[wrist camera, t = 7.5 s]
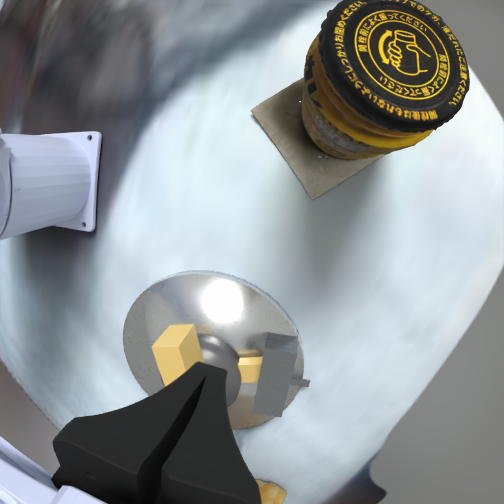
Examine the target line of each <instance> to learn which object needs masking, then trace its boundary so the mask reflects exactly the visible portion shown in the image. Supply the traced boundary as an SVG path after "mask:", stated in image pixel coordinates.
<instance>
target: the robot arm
mask: <svg viewBox="0 0 504 504" xmlns="http://www.w3.org/2000/svg"><path fill="white" fill-rule="evenodd" d="M91 135H92V140H91V141H90V137H91ZM101 139H102V135H101V133H100V132H75V133H59V134H46V135H19V134H1V129H0V240H3V239H6V238H9V237H13V236H16V235H20V234H23V233H26V232H30V231H34V230H37V229H41V228H44V227H48V226H52V225H53V226H59V227H65V228H70V229H76V230H82V231H88V232H90V231H93V230H94V229H95V219H96V195H97V180H98V167H99V157H100V148H101ZM84 222H85V223H86V227H85V226H84ZM227 374H228V372H227V370H226V369H223V368H219V367H216V366H213V365H209V364H206V363H203V362H199V361H198V362H195V363H194V364H193V365H192V366H191V367H190V368H189V369H188V370H187V371H186V372H184V373H183V374H182V375H181V376H180V377H178V378H177V379H176V380H174V381H173V382H171V383H170V384H169V385H167V386H166V387H164V388H162V389H161V390H159V391H158V392H156V393H154V394H153V395H151V396H149V397H147V398H145V399H143V400H141V401H139V402H136V403H134V404H132V405H129V406H127V407H124V408H121V409H118V410H114V411H111V412H107V413H103V414H98V415H92V416H85V417H76V418H74V419H73V420H71V421H70V422H69V423H68V424H67V425H66V426H65V427H64V428H63V429H62V430H61V431H60V432H59V434H58V435H57V436H56V437H55V438H54V440H53V447H54V451H55V453H56V456H57V458H58V461H59V463H60V467H59V469H58V470H57V471H56V473H55V474H54V475H52V474H51V473H49V472H48V471H46V470H45V469H43V468H42V467H40V466H39V465H37V464H36V463H35V462H33V461H32V460H30V459H29V458H28V457H26V456H25V455H24V454H22V453H21V452H20V451H18V450H17V449H15V448H14V447H13V446H12V445H10V444H9V443H8V442H7V441H6V440H4V439H3V438H2V437H1V436H0V504H262V501H261V494H260V490H259V485H258V483H257V482H256V480H255V479H254V477H253V476H252V474H251V472H250V471H249V469H248V467H247V465H246V463H245V462H244V460H243V457H242V455H241V453H240V451H239V448H238V446H237V444H236V441H235V438H234V435H233V432H232V428H231V424H230V420H229V415H228V409H227V401H226V378H227Z"/></svg>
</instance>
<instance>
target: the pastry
mask: <svg viewBox="0 0 504 504" xmlns="http://www.w3.org/2000/svg"><path fill="white" fill-rule="evenodd" d="M255 480H256V482H257V483H258V485H259V490H260V494H261V501H262V504H283V502H284V500H285V496H286V494H287V492H286V490H284V489H283V488H281V487H280V486H279V485H277V484H275V483H272V482H270V483H266V482H263V481H261V480H258V479H255Z"/></svg>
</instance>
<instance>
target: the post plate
mask: <svg viewBox="0 0 504 504" xmlns="http://www.w3.org/2000/svg"><path fill="white" fill-rule="evenodd" d="M185 324H194V325H195V329H196V333H197V334H201V335H208V336H212V337H215V338H217V339H220V340H222V341H223V342H225V343H227V344H228V345H229V346H230V347H231V348H233V349H234V350H235V352H236V353H237V354H238V356H239V357H240V358H250V357H263V358H262V363H261V369H260V374H259V379H258V382H247V383H241V387H240V390H239V394H238V397H237V399H236V400H235V402H234V403H233V404H232V405H231V406H229V407H228V408H227V409H228V415H229V420H230V424H231V428H232V429H243V428H248V427H253V426H256V425H259V424H262V423H264V422H266V421H268V420H270V419H272V418H274V417H275V416H276V417H281V416H282V412H283V410H284V409H286V408H287V407H288V405H289V404H290V403H291V402H292V401H293V399H294V398H295V396H296V394H297V392H298V390H299V388H300V386H304V387H308V386H309V383H310V380H306V379H302V377H303V372H304V354H303V347H302V342H301V339H300V336H299V333H298V330H297V329H296V327H295V325H294V323H293V321H292V320H291V318H290V317H289V315H288V314H287V312H286V311H285V310H284V309H283V308H282V307H281V306H280V305H279V303H278V302H276V301H275V300H274V299H273V298H272V297H271V296H270V295H268V294H267V293H266V292H264V291H263V290H261V289H260V288H258V287H257V286H255V285H253V284H251V283H249V282H247V281H245V280H243V279H240V278H238V277H235V276H232V275H229V274H225V273H220V272H214V271H205V270H200V271H186V272H180V273H177V274H173V275H170V276H167V277H165V278H163V279H161V280H159V281H158V282H156V283H155V284H153V285H152V286H150V287H149V288H148V289H146V290H145V291H144V292H143V293H142V294H141V295H140V296H139V297H138V298H137V299H136V301H135V302H134V303H133V305H132V306H131V308H130V310H129V312H128V314H127V317H126V320H125V324H124V330H123V345H124V351H125V355H126V359H127V362H128V364H129V367H130V369H131V371H132V373H133V375H134V377H135V379H136V380H137V382H138V383H139V384H140V386H141V387H142V388H143V390H144V391H145V392H146V393H147V394H148V395H149V396H151V395H153V394H154V393H156V392H158V391H159V390H161V389H162V388H164V385H163V383H162V380H161V376H160V371H159V368H158V365H157V362H156V359H155V356H154V353H153V350H152V346H153V345H154V343H155V342H156V341H157V340H158V339H159V337H160V336H161V335H162V334H163V333H164V331H165V330H166V329H167V328H168V327H169V325H185Z"/></svg>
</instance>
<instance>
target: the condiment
mask: <svg viewBox="0 0 504 504" xmlns="http://www.w3.org/2000/svg"><path fill="white" fill-rule="evenodd" d="M321 28H322V29H321V31H320V32H319V34H318V35H317V37H316V38H315V39H314V41H313V42H312V44H311V46H310V48H309V50H308V53H307V55H306V63H305V69H304V77H303V78H301V79H300V80H298V81H296V82H294V83H293V84H291V85H290V86H288V87H287V88H285V89H283V90H282V91H280V92H279V93H277V94H275V95H274V96H272V97H271V98H269V99H267V100H266V101H264V102H262V103H261V104H259V105H258V106H256V107H255V108H253V109H252V110H250V111H251V112H252V113H253V115H254V116H255V117H256V119H257V120H258V121H259V123H260V124H261V126H262V127H263V128H264V130H265V131H266V133H267V134H268V135H269V137H270V138H271V139H272V141H273V142H274V144H275V145H276V146H277V148H278V149H279V151H280V152H281V154H282V155H283V157H284V158H285V160H286V161H287V162H288V164H289V165H290V167H291V168H292V170H293V171H294V173H295V174H296V176H297V177H298V179H299V180H300V182H301V183H302V185H303V186H304V188H305V189H306V191H307V192H308V194H309V195H310V197H311V198H312V200H314V199H316V198H318V197H319V196H321V195H322V194H324V193H325V192H327V191H329V190H330V189H332V188H333V187H335V186H337V185H338V184H340V183H341V182H342V181H344V180H346V179H347V178H349V177H351V176H352V175H354V174H355V173H357V172H358V171H360V170H362V169H363V168H365V167H366V166H368V165H369V164H371V163H372V162H374V161H376V160H377V159H379V158H380V157H382V156H384V155H385V154H389V153H391V152H393V151H397V150H401V149H404V148H408V147H411V146H414V145H416V144H417V143H418V142H420V141H422V140H423V139H424V138H426V137H427V136H429V135H430V134H431V132H432V131H433V130H436V129H437V128H438V127H440V126H442V125H443V124H444V123H446V122H448V121H449V120H451V119H452V118H453V117H454V115H455V114H457V112H458V111H459V110H460V109H461V107H462V104H463V100H464V98H465V95H466V93H467V92H468V90H469V85H470V79H469V69H468V65H467V61H466V58H465V54H464V52H463V49H462V47H461V45H460V44H459V42H458V40H457V39H456V37H455V36H454V34H453V33H452V32H451V30H450V29H449V28H448V26H447V25H446V24H445V23H444V22H443V20H442V18H441V17H440V16H437V15H436V14H434V13H433V12H432V11H430V10H429V9H428V8H427V7H425V6H424V5H422V4H421V3H419V2H416V1H414V0H343V1H341V2H340V3H338V4H337V5H336V7H334V9H333V10H329V11H328V12H327V18H326V19H325V20H324V21H323V23H322V24H321ZM299 101H301V103H300V102H299ZM317 155H320V156H322V158H318V157H317ZM324 156H328V158H327V159H326V158H324Z"/></svg>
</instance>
